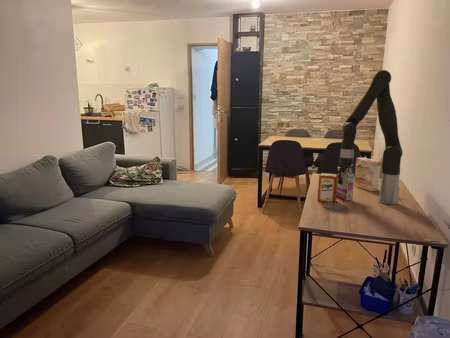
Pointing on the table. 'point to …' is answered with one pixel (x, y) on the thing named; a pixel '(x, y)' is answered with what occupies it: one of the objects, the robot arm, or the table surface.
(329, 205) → the slate coaster
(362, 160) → the coffeecake box
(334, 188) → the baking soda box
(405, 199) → the table surface
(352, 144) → the robot arm
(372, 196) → the table surface
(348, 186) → the candy bar box
